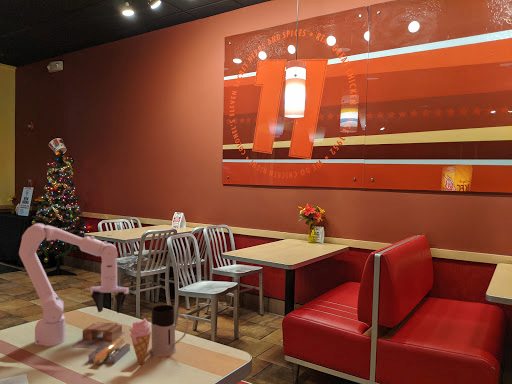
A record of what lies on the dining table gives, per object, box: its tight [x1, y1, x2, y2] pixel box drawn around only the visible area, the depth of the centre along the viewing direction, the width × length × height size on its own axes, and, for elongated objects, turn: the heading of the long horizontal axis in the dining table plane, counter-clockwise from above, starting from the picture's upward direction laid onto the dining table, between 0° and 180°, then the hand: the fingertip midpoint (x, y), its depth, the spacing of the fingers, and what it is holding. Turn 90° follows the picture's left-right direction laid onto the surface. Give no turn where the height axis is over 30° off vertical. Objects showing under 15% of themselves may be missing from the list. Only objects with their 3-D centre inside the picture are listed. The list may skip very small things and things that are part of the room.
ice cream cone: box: [128, 318, 152, 366], centre depth 125 cm, size 7×6×15 cm
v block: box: [88, 342, 131, 365], centre depth 129 cm, size 9×10×3 cm
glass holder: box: [150, 304, 189, 358], centre depth 133 cm, size 9×14×15 cm, turn 69°
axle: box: [93, 336, 125, 365], centre depth 129 cm, size 3×14×3 cm, turn 170°
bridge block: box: [71, 321, 126, 350], centre depth 143 cm, size 12×15×5 cm
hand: (109, 311), depth 148 cm, fingers open, 7 cm apart
